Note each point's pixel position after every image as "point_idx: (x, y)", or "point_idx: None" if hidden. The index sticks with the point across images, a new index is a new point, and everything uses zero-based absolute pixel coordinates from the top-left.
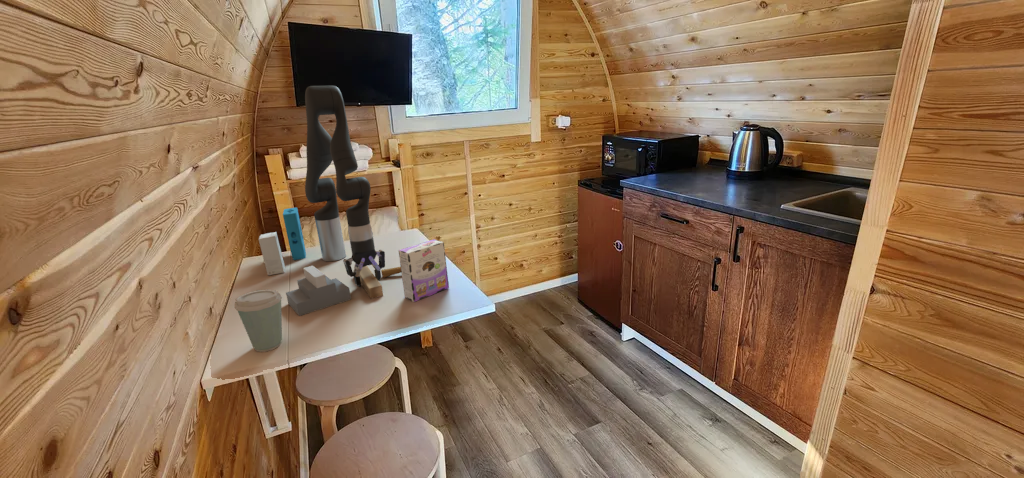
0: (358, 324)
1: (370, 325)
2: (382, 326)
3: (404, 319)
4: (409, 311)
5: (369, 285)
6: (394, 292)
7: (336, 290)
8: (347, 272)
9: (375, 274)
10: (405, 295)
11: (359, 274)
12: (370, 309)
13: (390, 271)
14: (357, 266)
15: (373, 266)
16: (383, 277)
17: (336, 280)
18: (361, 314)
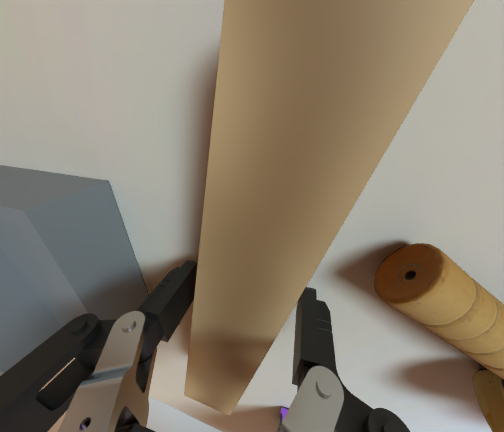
0: (151, 379)
1: (168, 393)
2: (184, 406)
3: (223, 422)
4: (245, 423)
5: (193, 387)
6: (283, 378)
7: None
8: (56, 345)
9: (299, 326)
10: (279, 419)
11: (202, 252)
12: (185, 371)
13: (445, 340)
14: (107, 410)
15: (290, 412)
16: (379, 269)
17: (39, 249)
18: (162, 368)
